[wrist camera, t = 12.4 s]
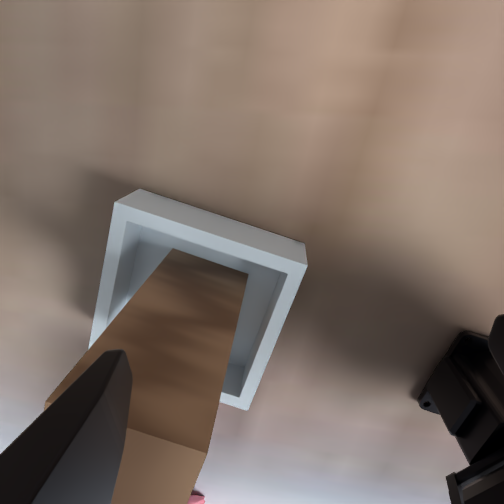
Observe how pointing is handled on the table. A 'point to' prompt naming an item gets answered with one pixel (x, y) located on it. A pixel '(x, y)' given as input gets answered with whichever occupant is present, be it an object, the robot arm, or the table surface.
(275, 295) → the bin
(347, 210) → the table surface
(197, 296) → the walnut block
